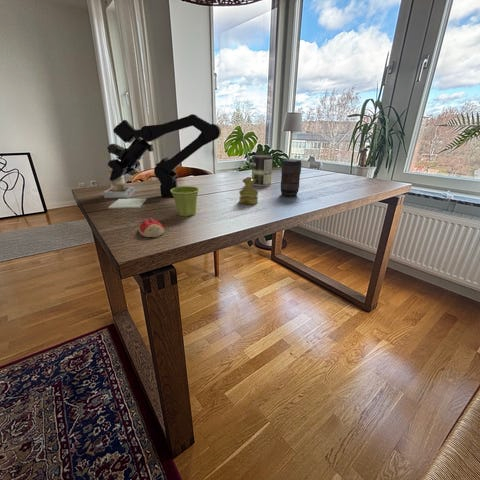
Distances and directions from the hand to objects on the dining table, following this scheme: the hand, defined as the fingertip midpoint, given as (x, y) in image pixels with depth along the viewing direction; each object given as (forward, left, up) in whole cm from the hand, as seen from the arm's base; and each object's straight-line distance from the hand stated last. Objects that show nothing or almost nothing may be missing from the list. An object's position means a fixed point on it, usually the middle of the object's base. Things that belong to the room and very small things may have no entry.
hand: (113, 178), depth 110 cm
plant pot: (-33, +27, -7) cm, 44 cm away
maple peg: (-1, 0, -7) cm, 7 cm away
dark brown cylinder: (-75, +4, -7) cm, 76 cm away
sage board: (-9, +14, -7) cm, 18 cm away
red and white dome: (-25, +43, -8) cm, 50 cm away
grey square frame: (-1, 0, -7) cm, 7 cm away
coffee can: (-66, -19, -7) cm, 69 cm away
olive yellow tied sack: (-56, +14, -7) cm, 59 cm away
